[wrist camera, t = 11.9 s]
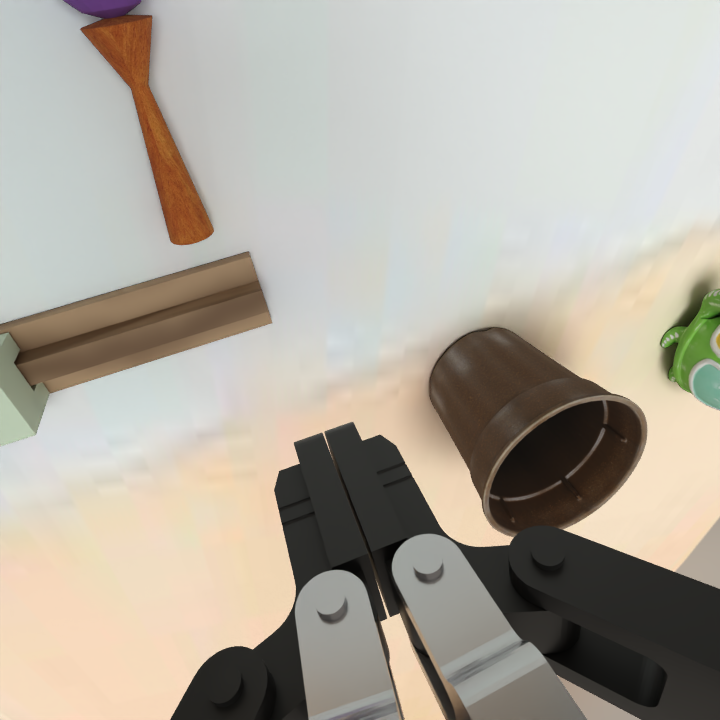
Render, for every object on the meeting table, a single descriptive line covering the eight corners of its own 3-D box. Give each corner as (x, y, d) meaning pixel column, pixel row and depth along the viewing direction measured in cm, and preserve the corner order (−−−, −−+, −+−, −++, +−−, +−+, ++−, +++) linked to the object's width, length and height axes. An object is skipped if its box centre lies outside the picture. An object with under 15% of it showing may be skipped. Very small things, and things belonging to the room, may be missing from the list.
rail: (-84, 349, 40) (-113, 385, 35) (248, 251, 43) (256, 274, 39) (-33, 412, 43) (-54, 451, 39) (270, 316, 47) (279, 343, 43)
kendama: (145, 259, 37) (-16, -116, 25) (160, 224, 42) (30, -106, 30) (228, 245, 38) (109, -135, 25) (233, 212, 42) (135, -122, 30)
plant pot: (569, 339, 60) (681, 425, 47) (487, 445, 65) (567, 549, 52) (468, 285, 52) (569, 371, 39) (384, 411, 57) (448, 524, 44)
